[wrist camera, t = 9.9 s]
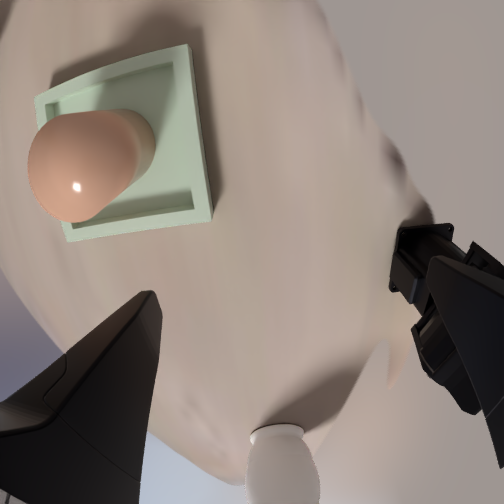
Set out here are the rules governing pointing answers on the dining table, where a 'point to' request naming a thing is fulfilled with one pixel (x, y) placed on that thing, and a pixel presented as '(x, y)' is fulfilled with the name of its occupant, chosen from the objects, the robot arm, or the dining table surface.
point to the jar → (281, 468)
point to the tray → (165, 132)
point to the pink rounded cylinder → (88, 160)
